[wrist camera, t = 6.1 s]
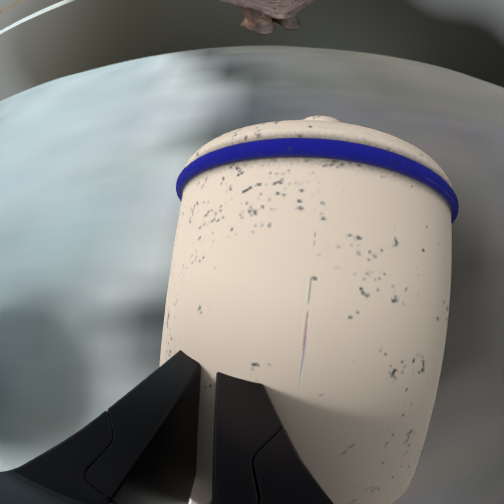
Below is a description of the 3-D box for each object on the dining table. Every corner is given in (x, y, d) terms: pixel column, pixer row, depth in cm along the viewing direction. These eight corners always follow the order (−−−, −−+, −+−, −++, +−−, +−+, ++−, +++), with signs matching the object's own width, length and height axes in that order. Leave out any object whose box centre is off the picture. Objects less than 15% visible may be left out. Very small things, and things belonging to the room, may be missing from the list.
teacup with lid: (449, 453, 8) (472, 157, 10) (287, 602, 3) (350, -21, 4) (248, 389, 17) (271, 196, 19) (93, 395, 12) (129, 144, 13)
